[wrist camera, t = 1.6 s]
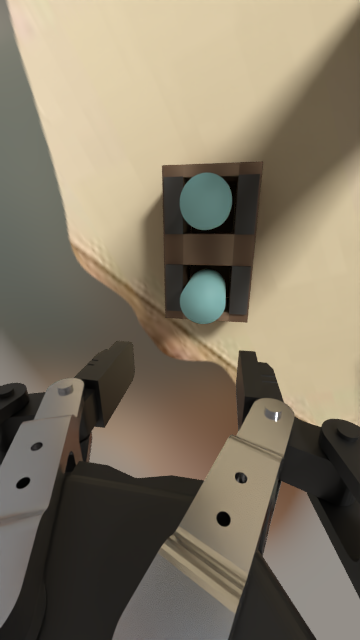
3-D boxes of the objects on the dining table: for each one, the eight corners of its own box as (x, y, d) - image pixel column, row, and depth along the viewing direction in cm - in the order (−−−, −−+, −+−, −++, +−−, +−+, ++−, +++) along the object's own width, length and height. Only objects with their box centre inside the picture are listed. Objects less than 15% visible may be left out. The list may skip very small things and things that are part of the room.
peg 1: (232, 183, 24) (233, 171, 18) (229, 228, 25) (230, 230, 20) (189, 184, 24) (179, 173, 19) (189, 228, 26) (179, 229, 20)
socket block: (255, 173, 28) (263, 160, 22) (243, 305, 33) (247, 323, 27) (174, 176, 29) (161, 164, 23) (175, 302, 34) (164, 318, 28)
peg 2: (226, 269, 27) (227, 280, 21) (224, 305, 28) (224, 325, 23) (188, 268, 27) (179, 279, 22) (188, 304, 29) (179, 322, 23)
